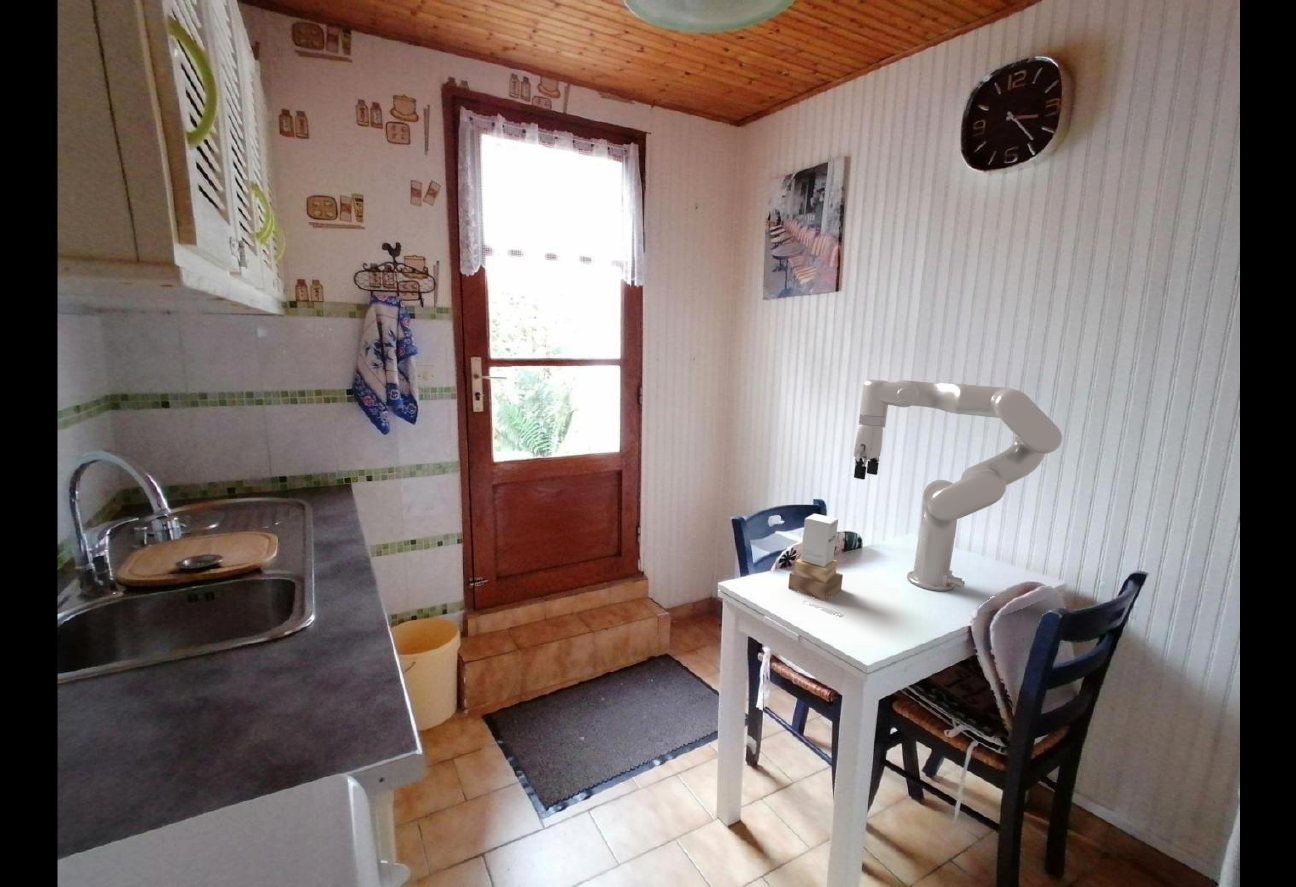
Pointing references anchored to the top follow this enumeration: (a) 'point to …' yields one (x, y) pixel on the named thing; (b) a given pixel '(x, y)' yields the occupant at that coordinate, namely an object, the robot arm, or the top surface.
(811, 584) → the tower base
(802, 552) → the supplement box
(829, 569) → the tower top
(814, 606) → the butter knife
